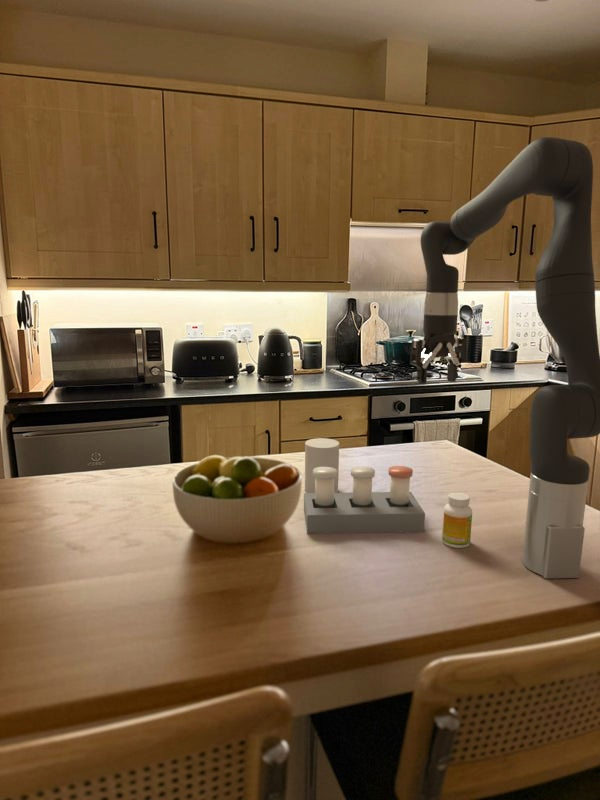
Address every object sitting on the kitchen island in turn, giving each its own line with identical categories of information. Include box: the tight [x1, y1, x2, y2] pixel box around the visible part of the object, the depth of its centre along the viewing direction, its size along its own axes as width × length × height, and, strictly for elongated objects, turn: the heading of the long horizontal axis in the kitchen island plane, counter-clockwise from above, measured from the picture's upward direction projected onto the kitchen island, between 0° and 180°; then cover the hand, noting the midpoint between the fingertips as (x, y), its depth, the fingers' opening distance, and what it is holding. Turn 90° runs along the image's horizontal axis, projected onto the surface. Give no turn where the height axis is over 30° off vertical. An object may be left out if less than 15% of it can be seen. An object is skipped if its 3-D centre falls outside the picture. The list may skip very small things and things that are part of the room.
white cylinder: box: [304, 437, 340, 493], centre depth 139 cm, size 8×8×12 cm
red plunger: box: [388, 465, 414, 505], centre depth 121 cm, size 5×5×7 cm
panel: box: [303, 491, 426, 535], centre depth 122 cm, size 12×24×4 cm, turn 93°
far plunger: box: [313, 467, 337, 506], centre depth 121 cm, size 5×5×7 cm
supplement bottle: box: [441, 492, 473, 549], centre depth 112 cm, size 5×5×10 cm
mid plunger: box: [350, 465, 376, 505], centre depth 121 cm, size 5×5×7 cm
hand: (437, 382), depth 135 cm, fingers open, 8 cm apart
